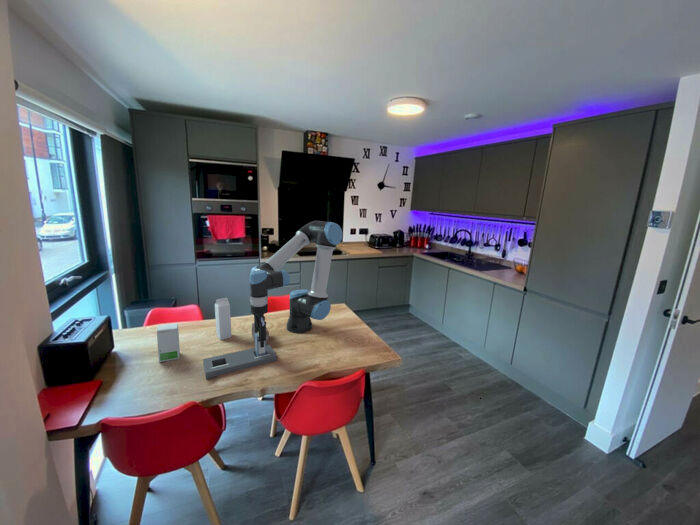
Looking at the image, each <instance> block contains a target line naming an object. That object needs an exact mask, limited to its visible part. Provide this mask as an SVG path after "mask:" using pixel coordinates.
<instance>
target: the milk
mask: <svg viewBox="0 0 700 525" xmlns="http://www.w3.org/2000/svg"><path fill="white" fill-rule="evenodd" d="M214 314H215V330H216V331H215V332H216V337H217V339H219V341H221V340H225V339H230V338H232V323H231V322H232V320H231V317H232V316H231V304H230V302H229V298H228V297H224V298H218V299H216V300H215V303H214Z"/></svg>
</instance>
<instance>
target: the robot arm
mask: <svg viewBox="0 0 700 525" xmlns="http://www.w3.org/2000/svg"><path fill="white" fill-rule="evenodd" d="M342 239H343V230H342V228H341V226H340V225H339V224H337V223H336V222H332V221H322V220H321V221H320V220H313V221H311V222H307V224H305V225H304V226H302V227H300V229H298V230H297V231H296V232H295V235H294V236H293V237H292V238H291V239H290V240H288V241H287V242H286V243H285V244H284V245H283V246H281V248H279V250H277V251H276V252H275V253H274V254H273V255H271V256H270V257H269V258H268V259H267V260H265V261H264V262H263V263H262V264H261V265H255V266H254V267H252V268H251V270H250V273H249V294H250V296H249V297H250V298H248V300H249V301H250V313H251V314H252V315H253V320H254V321H253V323H254V326H255V333H258V332H259V340H257V341H258V343H259V354H261V353H265V341H266V328H267V321H265V320H266V315H265V314H267V313H268V311H269V305H268V303H269V298H268V297H269V296H268V293H269V292H268V290H270V291H271V290H273V289H279V288H283V287H285V286H288V285H289V284H290V283H291V276H290V274H289V273H288V271H286V270H281V268H282V267H283V266H284V265H285V264H287V262H289V261H290V260H291V259H292V258H293V257H294V256H295V255H296V254H297V253H298V252H299V251H301V249H303V248H304V247H305V246H309V245H310V244H311V243H313V242H315V243H314V245H315V247H316V248H317V249H316V254H315V261H314V267H313V274H312V280H311V286H310V290H309V289H303V288H302V289H296V290H292V291H290V293H289V298H288V299H289V300H288V302H289V317H288V319H287V321H286V322H287V323H286V330H287V331H288V332H291V333H294V334H298V333H299V334H301V333H306V332H309V331H311V330H312V328H313V321H312V320H317V321H322V320H324V319H325V318H326V317H327V316H328V315H329V313H330V311H331V307H332V306H331V303H330V301H329V299H328V298H329V295H328V293H327V288H328V283H329V277H330V270H331V264H332V257H333V252H334V250H336V249H337V245H339V244H340V243H341V242H342ZM279 269H280V270H279ZM264 315H265V316H264Z"/></svg>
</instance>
